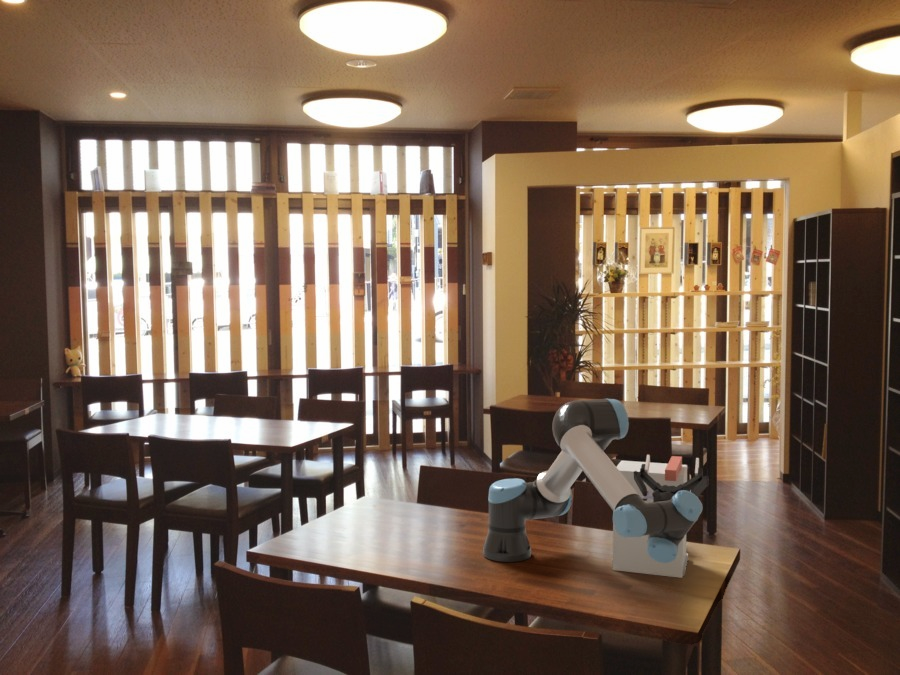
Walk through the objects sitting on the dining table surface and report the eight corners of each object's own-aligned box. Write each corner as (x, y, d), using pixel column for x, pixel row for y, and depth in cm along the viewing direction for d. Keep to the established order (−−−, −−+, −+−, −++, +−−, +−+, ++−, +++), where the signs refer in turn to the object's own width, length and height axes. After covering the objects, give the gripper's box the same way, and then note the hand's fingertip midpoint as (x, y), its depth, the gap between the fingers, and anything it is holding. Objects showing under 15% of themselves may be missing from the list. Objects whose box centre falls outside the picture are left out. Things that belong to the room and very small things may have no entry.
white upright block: (684, 578, 232) (685, 475, 231) (610, 569, 239) (611, 470, 238) (688, 559, 249) (689, 463, 248) (619, 552, 256) (620, 459, 255)
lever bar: (675, 481, 223) (676, 470, 223) (664, 480, 224) (664, 469, 224) (681, 466, 244) (682, 456, 243) (671, 465, 245) (671, 456, 245)
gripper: (620, 517, 219) (629, 466, 236) (716, 526, 211) (718, 473, 227) (618, 497, 215) (627, 447, 232) (715, 505, 207) (718, 452, 224)
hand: (672, 459), depth 230 cm, fingers open, 13 cm apart
